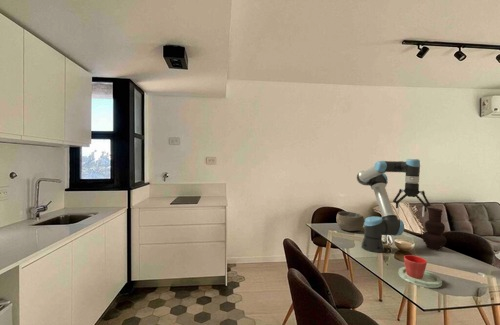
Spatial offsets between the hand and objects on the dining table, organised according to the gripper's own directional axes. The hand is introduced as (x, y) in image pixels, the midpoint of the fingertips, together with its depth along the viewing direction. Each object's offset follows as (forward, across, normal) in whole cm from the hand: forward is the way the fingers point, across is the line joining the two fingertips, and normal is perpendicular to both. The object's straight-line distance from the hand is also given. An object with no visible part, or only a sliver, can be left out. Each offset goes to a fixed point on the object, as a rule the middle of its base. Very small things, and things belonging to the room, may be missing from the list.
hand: (410, 214), depth 158 cm
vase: (+32, +17, +40) cm, 54 cm away
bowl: (+32, -45, +52) cm, 76 cm away
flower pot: (+30, +2, -24) cm, 39 cm away
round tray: (+30, +5, -24) cm, 39 cm away
